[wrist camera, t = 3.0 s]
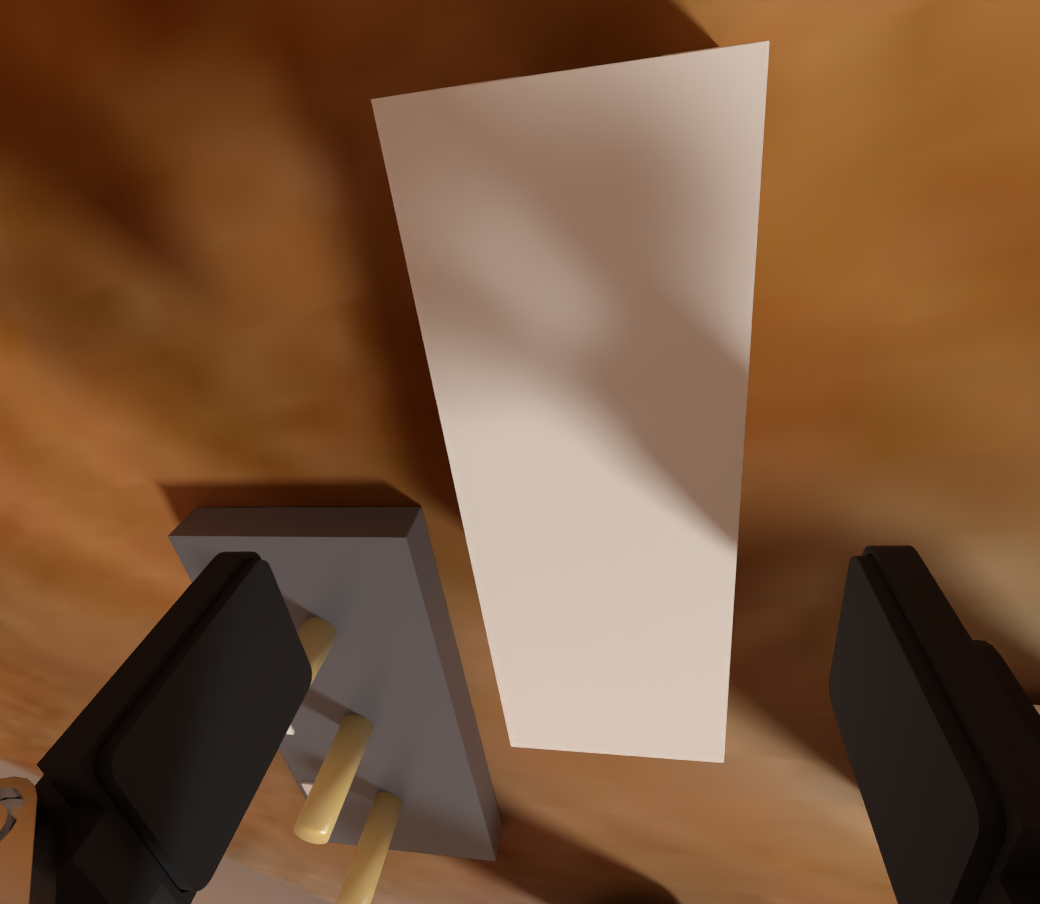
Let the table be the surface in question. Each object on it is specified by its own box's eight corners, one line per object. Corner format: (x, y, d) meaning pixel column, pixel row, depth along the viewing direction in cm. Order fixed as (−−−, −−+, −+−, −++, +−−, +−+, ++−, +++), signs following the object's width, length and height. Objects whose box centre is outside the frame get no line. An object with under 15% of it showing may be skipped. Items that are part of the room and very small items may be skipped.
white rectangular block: (472, 82, 13) (371, 99, 8) (718, 46, 12) (769, 41, 7) (543, 577, 21) (511, 746, 16) (703, 581, 20) (723, 762, 14)
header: (196, 507, 21) (72, 632, 17) (421, 506, 20) (352, 644, 15) (340, 809, 30) (286, 944, 26) (502, 826, 29) (475, 973, 24)
